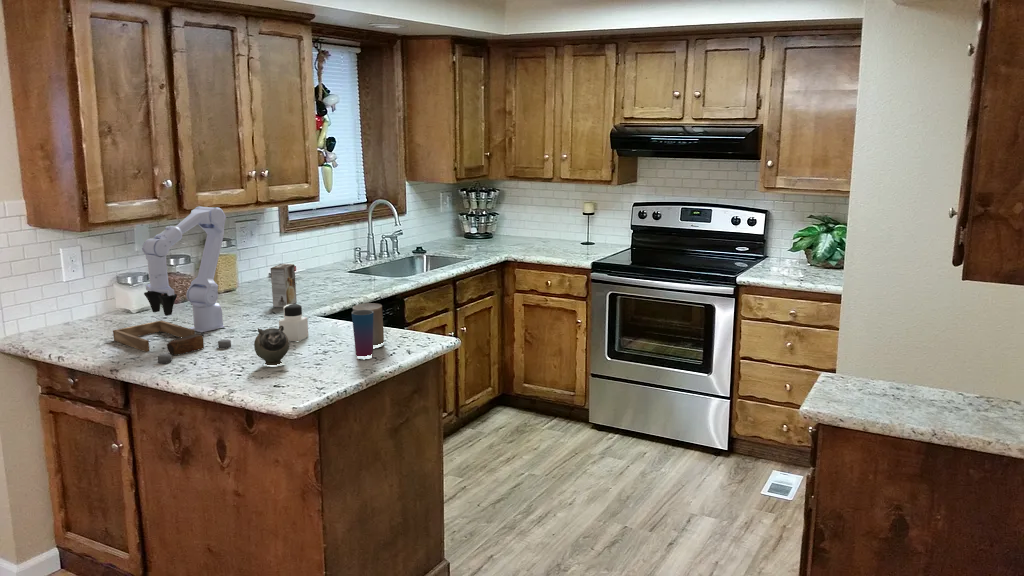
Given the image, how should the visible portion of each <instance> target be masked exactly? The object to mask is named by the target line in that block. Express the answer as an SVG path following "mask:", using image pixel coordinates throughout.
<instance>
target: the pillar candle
mask: <svg viewBox="0 0 1024 576" xmlns="http://www.w3.org/2000/svg"><path fill="white" fill-rule="evenodd" d="M356 310H372V311H373V312H374V313H373V345H378V344H381V343H383V342H384V343H385V335H384V332H385V331H384V319H383V317H384V316H383V305H382V304H381V303H377V302H376V303H374V302H373V303H371V302H367V303H359V304H356V305H353V306H352V312H353V311H356Z"/></svg>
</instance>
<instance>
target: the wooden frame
mask: <svg viewBox="0 0 1024 576" xmlns="http://www.w3.org/2000/svg"><path fill="white" fill-rule="evenodd" d="M189 328H190V327H189ZM189 328H188V327H185V326H183V325H178V324H176V323H173V322H172V323H171V322H168V321H165V320H158V321H157V320H156V321H152V322H147V323H141V324H137V325H133V326H128V327H123V328H122V327H121V328H118V329H113V331H112V334H113V335H112V336H113V342H117V343H119V344H122V345H126V346H128V347H131V348H133V347H134V349H136V350H140V351H143V352H144V353H148V352H150V351H151V350H150V342H149V340H148V339H145V338H142V337H141V336H146V335H149V334H150V333H151V334H155V332H156V333H160V332H162V333H165V332H166V333H165V334H168V333H169V334H168V335H171V334H172V336H174V335H175V337H177V336H179V337H178V338H181V337H186V336H190V335H194V334H196V333H195V332H196V331H194V330H192V329H189ZM159 331H160V332H159Z"/></svg>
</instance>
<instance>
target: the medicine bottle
mask: <svg viewBox="0 0 1024 576" xmlns="http://www.w3.org/2000/svg"><path fill="white" fill-rule="evenodd" d="M282 309H283V317H284V318H282V319H280V320H279V321H278V328H279V327H280V326H283V327H284V330H283V332H284V333H285V334H286V336H287V337H288V340H289V342H291V341H299V342H301V341H303V340H305V339H307V338H309V322H308V317H307V316H303V310H302V305H300V304H299V303H298V304H297V303H294V304H289V305H286V306H284V307H282ZM306 337H307V338H306ZM304 338H305V339H304ZM302 339H303V340H302ZM300 340H301V341H300Z"/></svg>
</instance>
